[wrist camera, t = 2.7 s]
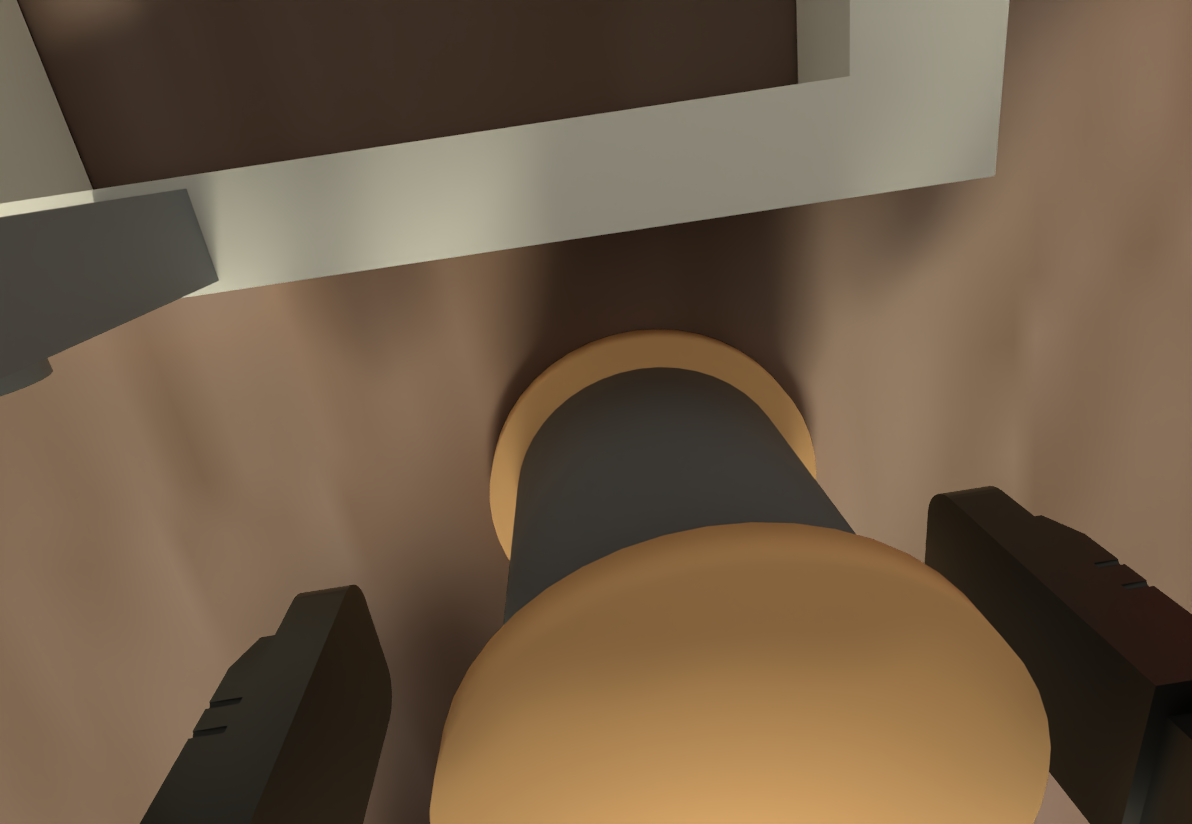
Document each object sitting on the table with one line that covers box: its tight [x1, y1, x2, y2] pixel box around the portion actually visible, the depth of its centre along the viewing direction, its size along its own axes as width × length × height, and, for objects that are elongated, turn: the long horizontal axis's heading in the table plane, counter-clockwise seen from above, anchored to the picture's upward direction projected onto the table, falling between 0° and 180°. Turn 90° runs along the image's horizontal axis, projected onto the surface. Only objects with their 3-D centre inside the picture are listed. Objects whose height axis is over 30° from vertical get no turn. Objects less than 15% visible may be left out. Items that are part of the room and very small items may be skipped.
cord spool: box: [430, 329, 1051, 824], centre depth 10 cm, size 6×6×7 cm
